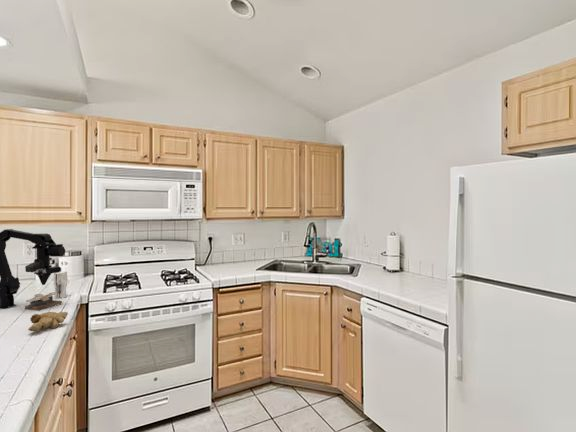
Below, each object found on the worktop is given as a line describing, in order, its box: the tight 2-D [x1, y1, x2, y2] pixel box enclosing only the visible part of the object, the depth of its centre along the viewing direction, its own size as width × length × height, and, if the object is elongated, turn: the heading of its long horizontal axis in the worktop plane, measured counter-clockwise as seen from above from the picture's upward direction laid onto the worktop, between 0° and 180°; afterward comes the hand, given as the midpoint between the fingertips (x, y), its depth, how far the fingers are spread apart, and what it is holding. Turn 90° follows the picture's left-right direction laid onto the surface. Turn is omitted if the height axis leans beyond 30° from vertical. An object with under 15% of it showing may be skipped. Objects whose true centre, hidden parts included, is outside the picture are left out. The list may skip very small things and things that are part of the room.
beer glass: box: [53, 271, 68, 299], centre depth 200 cm, size 7×7×15 cm
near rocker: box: [25, 296, 41, 303], centre depth 178 cm, size 7×3×1 cm, turn 75°
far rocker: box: [43, 291, 57, 297], centre depth 186 cm, size 7×3×1 cm, turn 75°
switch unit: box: [24, 295, 63, 311], centre depth 182 cm, size 10×13×4 cm
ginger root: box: [28, 311, 69, 332], centre depth 150 cm, size 16×16×8 cm
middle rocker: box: [33, 292, 50, 301], centre depth 182 cm, size 7×3×1 cm, turn 76°
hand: (43, 284), depth 181 cm, fingers closed
